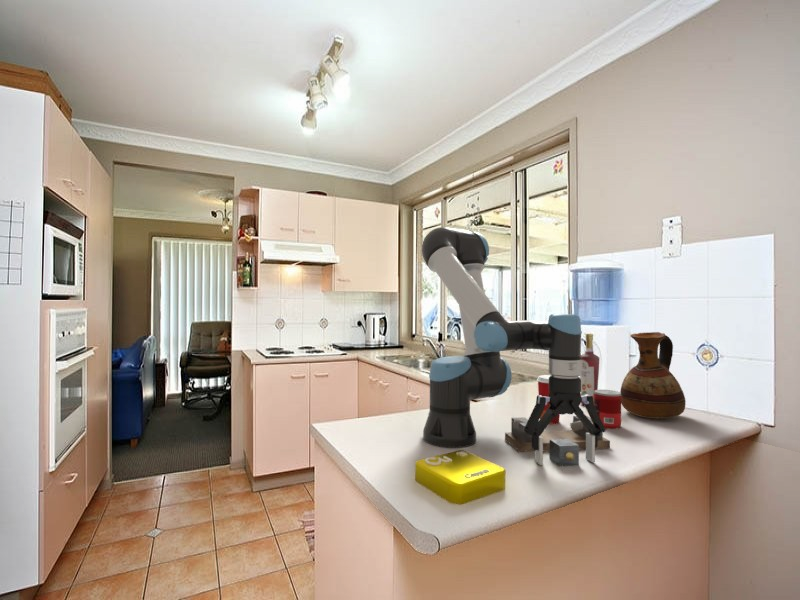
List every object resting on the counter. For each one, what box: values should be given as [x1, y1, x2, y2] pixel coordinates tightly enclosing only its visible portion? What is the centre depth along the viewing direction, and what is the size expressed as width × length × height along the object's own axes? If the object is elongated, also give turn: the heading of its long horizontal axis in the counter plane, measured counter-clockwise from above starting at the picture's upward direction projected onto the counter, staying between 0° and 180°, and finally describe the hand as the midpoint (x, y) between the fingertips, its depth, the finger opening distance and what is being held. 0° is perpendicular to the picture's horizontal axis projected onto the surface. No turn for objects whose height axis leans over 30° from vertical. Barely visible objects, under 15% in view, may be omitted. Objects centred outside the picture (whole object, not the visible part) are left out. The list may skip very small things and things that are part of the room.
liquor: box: [579, 333, 600, 407], centre depth 162 cm, size 7×7×28 cm
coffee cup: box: [535, 374, 561, 425], centre depth 138 cm, size 8×8×15 cm
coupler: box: [548, 439, 580, 467], centre depth 103 cm, size 7×5×5 cm
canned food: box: [594, 389, 622, 430], centre depth 135 cm, size 8×8×11 cm
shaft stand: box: [504, 415, 611, 453], centre depth 116 cm, size 26×10×7 cm, turn 98°
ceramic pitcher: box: [619, 331, 687, 419], centre depth 148 cm, size 20×20×30 cm
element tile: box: [414, 449, 506, 505], centre depth 90 cm, size 15×15×5 cm
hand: (564, 461), depth 102 cm, fingers open, 13 cm apart
